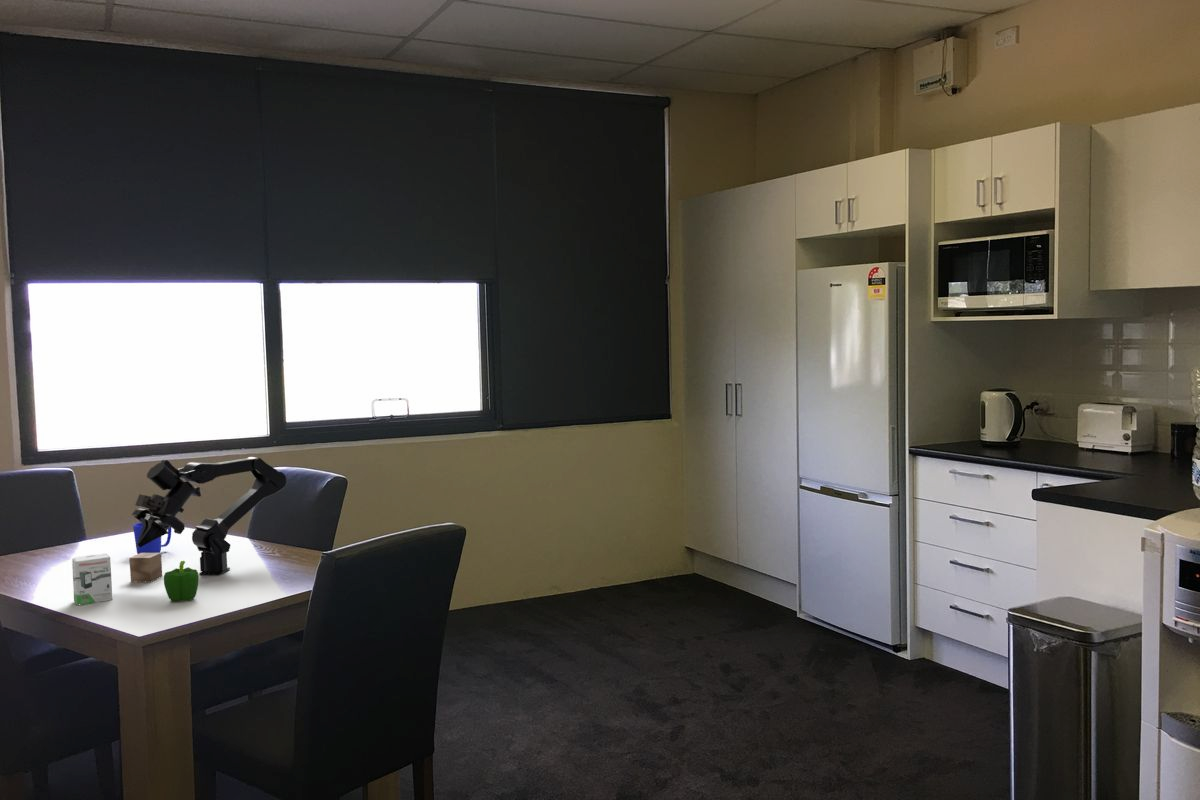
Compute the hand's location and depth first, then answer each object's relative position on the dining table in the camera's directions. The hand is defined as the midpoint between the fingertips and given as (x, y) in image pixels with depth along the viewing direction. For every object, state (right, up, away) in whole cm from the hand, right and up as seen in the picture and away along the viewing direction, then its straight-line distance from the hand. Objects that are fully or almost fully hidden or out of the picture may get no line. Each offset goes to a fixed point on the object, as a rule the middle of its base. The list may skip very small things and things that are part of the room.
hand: (138, 546), depth 264 cm
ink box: (-7, -13, -9) cm, 18 cm away
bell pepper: (+17, -13, -10) cm, 23 cm away
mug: (-16, -9, +44) cm, 47 cm away
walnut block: (-3, -11, +12) cm, 17 cm away
